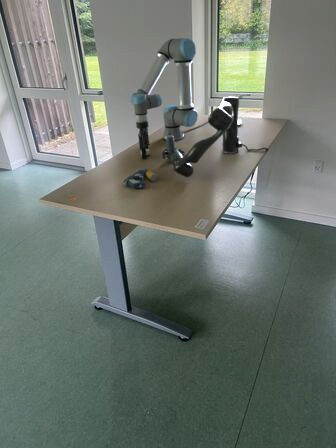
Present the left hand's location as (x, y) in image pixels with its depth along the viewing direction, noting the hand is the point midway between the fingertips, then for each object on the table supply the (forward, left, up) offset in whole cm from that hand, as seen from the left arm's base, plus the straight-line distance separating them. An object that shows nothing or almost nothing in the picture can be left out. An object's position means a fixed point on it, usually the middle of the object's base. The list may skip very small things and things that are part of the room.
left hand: (145, 156), depth 218 cm
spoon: (-81, -14, 0) cm, 82 cm away
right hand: (-11, +14, +6) cm, 19 cm away
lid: (0, 0, +4) cm, 4 cm away
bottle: (-10, +17, 0) cm, 20 cm away
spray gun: (+19, +34, 0) cm, 39 cm away
